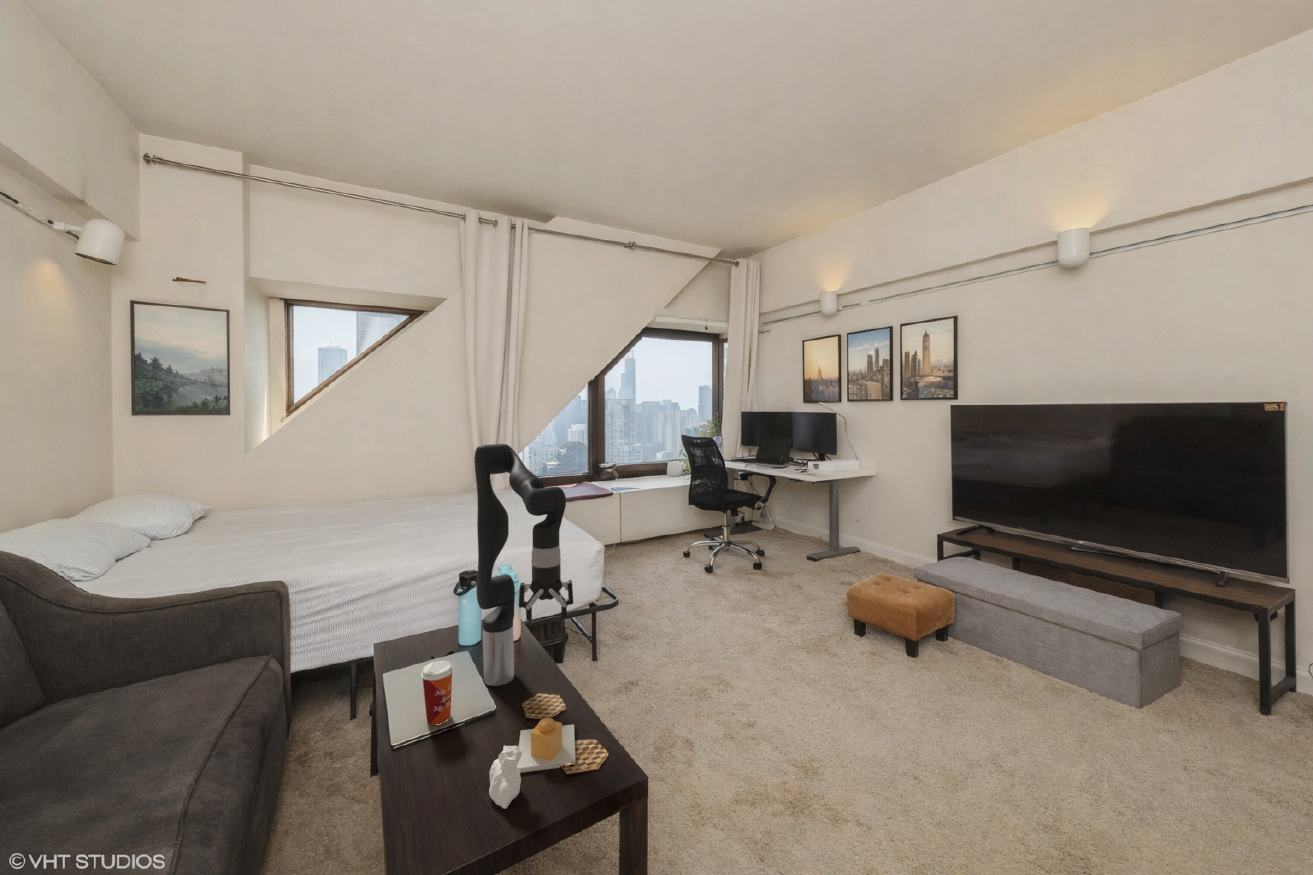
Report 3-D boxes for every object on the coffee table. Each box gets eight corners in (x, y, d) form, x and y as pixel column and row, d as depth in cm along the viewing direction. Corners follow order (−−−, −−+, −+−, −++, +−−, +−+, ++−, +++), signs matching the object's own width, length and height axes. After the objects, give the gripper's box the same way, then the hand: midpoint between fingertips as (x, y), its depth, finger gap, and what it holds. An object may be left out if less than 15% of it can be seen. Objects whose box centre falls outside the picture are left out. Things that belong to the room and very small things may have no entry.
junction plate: (521, 733, 133) (520, 712, 133) (574, 726, 136) (573, 707, 135) (516, 773, 119) (515, 750, 118) (575, 765, 121) (575, 743, 121)
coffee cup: (442, 730, 134) (441, 676, 133) (415, 726, 136) (414, 673, 135) (461, 711, 142) (459, 660, 141) (435, 707, 144) (433, 657, 143)
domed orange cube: (542, 741, 128) (542, 714, 128) (562, 745, 127) (561, 718, 126) (531, 755, 123) (530, 727, 122) (551, 760, 121) (551, 732, 121)
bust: (515, 820, 108) (545, 768, 111) (487, 813, 104) (518, 759, 108) (498, 785, 118) (525, 738, 121) (471, 778, 114) (500, 729, 117)
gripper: (573, 556, 138) (573, 612, 139) (519, 558, 136) (520, 615, 137) (573, 565, 131) (573, 624, 132) (517, 567, 128) (517, 628, 130)
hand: (546, 620), depth 134 cm, fingers open, 8 cm apart
